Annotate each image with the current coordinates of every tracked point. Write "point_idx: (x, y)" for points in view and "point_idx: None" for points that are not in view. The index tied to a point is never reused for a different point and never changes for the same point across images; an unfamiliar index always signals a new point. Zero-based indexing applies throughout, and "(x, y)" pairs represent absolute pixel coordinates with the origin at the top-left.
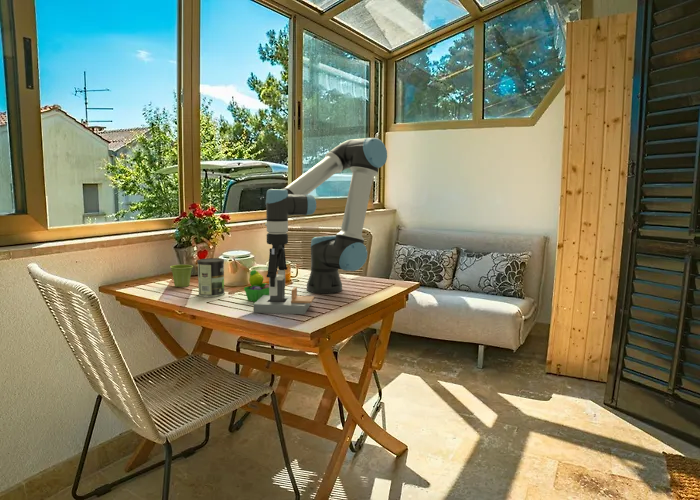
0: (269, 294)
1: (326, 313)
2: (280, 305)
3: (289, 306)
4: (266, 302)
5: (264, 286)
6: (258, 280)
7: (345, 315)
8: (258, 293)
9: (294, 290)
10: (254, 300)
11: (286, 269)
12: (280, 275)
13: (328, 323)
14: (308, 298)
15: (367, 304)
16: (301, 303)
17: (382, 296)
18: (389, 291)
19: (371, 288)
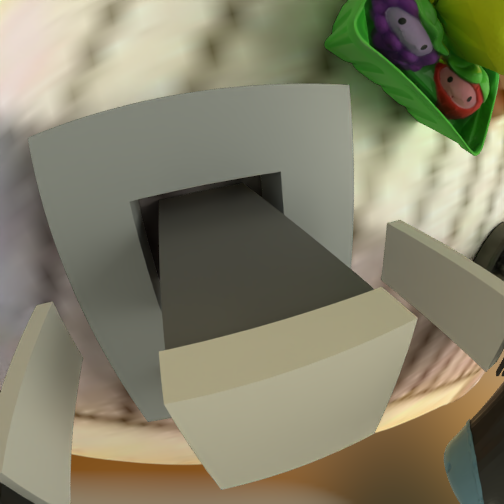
0: (35, 314)
1: None
2: (93, 329)
3: (116, 368)
4: (108, 210)
5: (459, 78)
6: (476, 36)
7: (196, 461)
8: (354, 46)
9: None
10: (335, 27)
11: (497, 373)
12: (326, 439)
13: (91, 455)
14: None
15: None
16: None
17: (402, 417)
18: (436, 400)
19: (467, 361)
